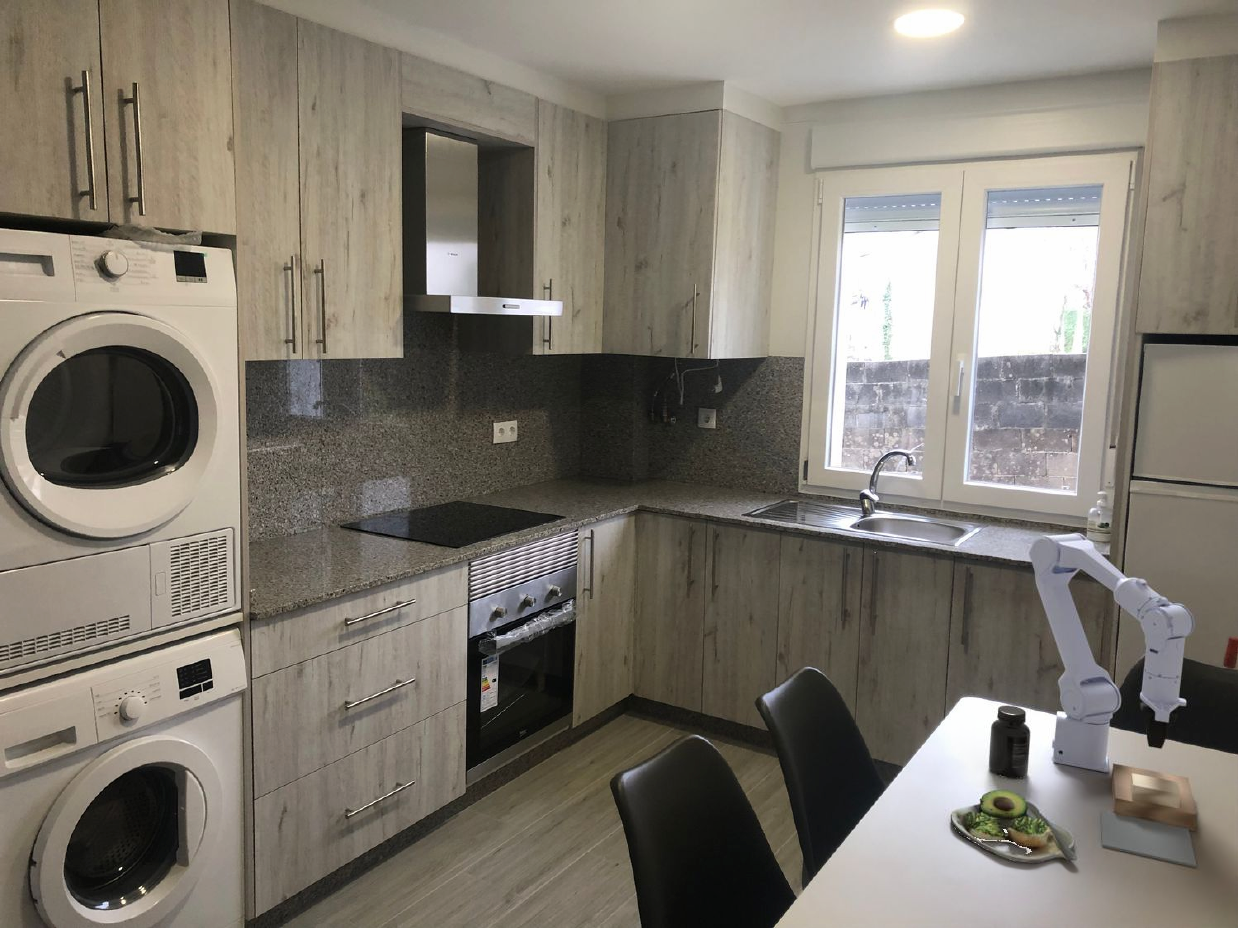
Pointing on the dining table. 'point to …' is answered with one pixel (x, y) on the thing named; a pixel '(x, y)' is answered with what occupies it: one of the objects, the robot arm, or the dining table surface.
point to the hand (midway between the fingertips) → (1154, 746)
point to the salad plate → (1014, 827)
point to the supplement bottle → (1009, 743)
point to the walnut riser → (1151, 811)
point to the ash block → (1155, 790)
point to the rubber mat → (1147, 838)
